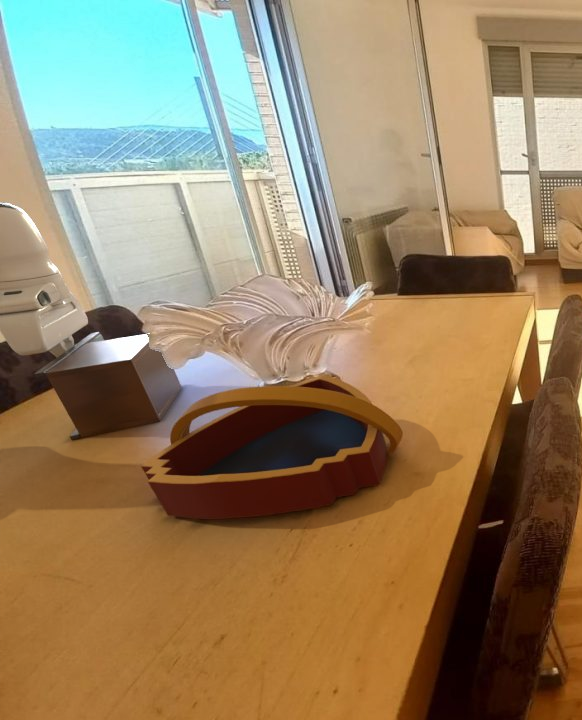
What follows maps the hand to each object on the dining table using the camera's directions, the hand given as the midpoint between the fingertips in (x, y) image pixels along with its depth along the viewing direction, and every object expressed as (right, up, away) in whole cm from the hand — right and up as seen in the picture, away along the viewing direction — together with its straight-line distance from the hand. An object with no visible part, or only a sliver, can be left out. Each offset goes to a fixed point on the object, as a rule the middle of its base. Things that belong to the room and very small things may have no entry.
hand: (69, 360), depth 93 cm
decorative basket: (+56, -17, -17) cm, 61 cm away
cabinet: (+8, -9, +5) cm, 13 cm away
